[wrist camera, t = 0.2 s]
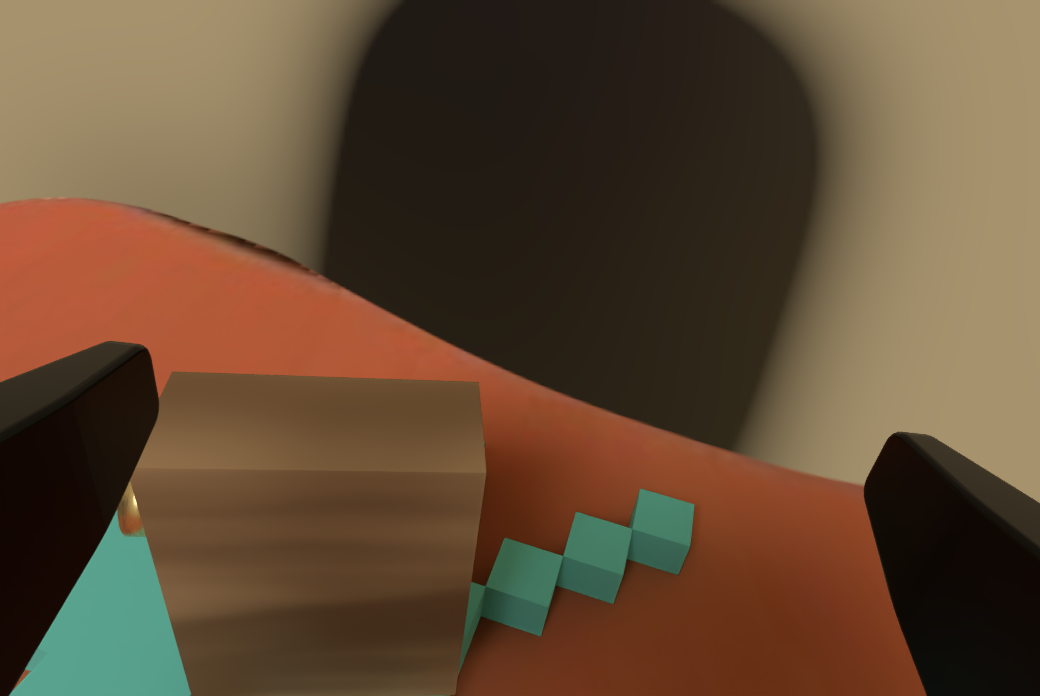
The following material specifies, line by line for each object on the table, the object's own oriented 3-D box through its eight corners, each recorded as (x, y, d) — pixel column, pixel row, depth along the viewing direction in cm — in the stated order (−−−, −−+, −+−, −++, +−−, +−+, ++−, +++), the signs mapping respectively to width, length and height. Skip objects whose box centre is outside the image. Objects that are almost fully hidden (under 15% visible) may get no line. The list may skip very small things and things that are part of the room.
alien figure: (680, 540, 29) (254, 409, 32) (694, 504, 28) (249, 372, 31) (584, 1328, 13) (-239, 923, 16) (607, 1330, 12) (-290, 890, 15)
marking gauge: (455, 695, 20) (486, 472, 15) (162, 705, 19) (81, 467, 13) (449, 483, 26) (469, 276, 21) (230, 481, 25) (194, 261, 20)
